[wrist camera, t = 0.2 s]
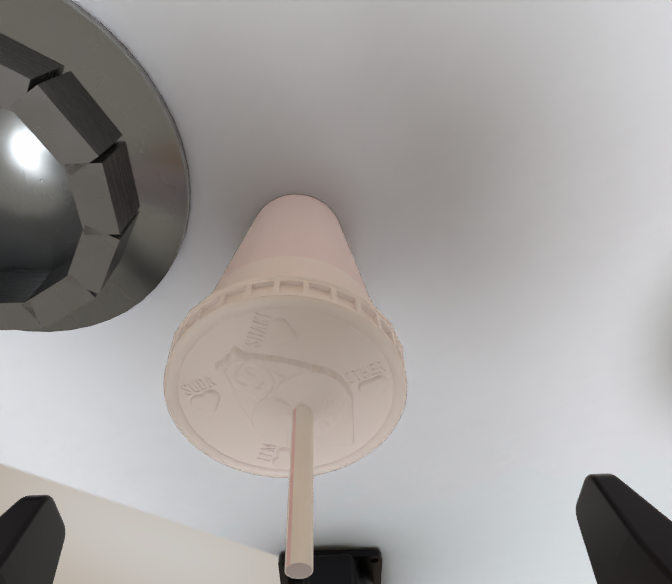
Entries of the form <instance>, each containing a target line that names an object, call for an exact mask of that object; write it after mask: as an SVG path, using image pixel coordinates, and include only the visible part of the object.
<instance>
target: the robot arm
mask: <svg viewBox="0 0 672 584" xmlns="http://www.w3.org/2000/svg"><path fill="white" fill-rule="evenodd" d="M576 516H577V520H578V524H579V527H580V530H581V533H582V537H583V540H584V543H585V546H586V549H587V553H588V556H589V559H590V562H591V565H592V569H593V572H594V575H595V578H596V581H597V584H672V521H671V520H669V519H668V518H667V517H666V516H664V515H663V514H662V513H661V512H659V511H658V510H657V509H656V508H655V507H653V506H652V505H651V504H650V503H648V502H647V501H646V500H645V499H644V498H642V497H641V496H640V495H639V494H637V493H636V492H635V491H634V490H632V489H631V488H630V487H629V486H628V485H626V484H625V483H624V482H623V481H621V480H620V479H619V478H618V477H616V476H614V475H612V474H590V475H588V476H587V477H586V478H585V480H584V483H583V486H582V489H581V492H580V495H579V498H578V501H577V504H576ZM64 539H65V526H64V523H63V520H62V518H61V516H60V513H59V511H58V509H57V507H56V504H55V502H54V500H53V498H52V497H50V496H49V495H31V496H25V497H23V498H21V499H20V500H19V501H17V502H16V503H15V504H14V505H12V506H11V507H10V508H9V509H8V510H7V511H6V512H5V513H4V514H2V515H1V516H0V584H53V580H54V577H55V572H56V569H57V565H58V562H59V557H60V554H61V550H62V547H63V543H64ZM278 565H279V573H280V582H281V584H381V571H382V555H381V552H380V551H378V550H354V551H329V552H313V573H312V574H311V575H310V576H309V577H306V578H303V579H294V578H291V577H289V576H287V575H286V574H285V554H282V555H280V556H279V563H278Z"/></svg>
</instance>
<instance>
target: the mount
mask: <svg viewBox="0 0 672 584" xmlns="http://www.w3.org/2000/svg"><path fill="white" fill-rule="evenodd" d="M189 205H190V184H189V174H188V166H187V162H186V158H185V153H184V149H183V145H182V142H181V139H180V136H179V134H178V131H177V128H176V125H175V123H174V120H173V118H172V116H171V114H170V112H169V110H168V108H167V106H166V104H165V102H164V100H163V98H162V96H161V95H160V93H159V92H158V90H157V89H156V87H155V85H154V84H153V82H152V81H151V79H150V78H149V76H148V75H147V73H146V72H145V70H144V69H143V68H142V67H141V66H140V64H139V63H138V62H137V61H136V59H135V58H134V57H133V56H132V55H131V53H130V52H129V51H128V50H127V49H126V47H125V46H124V45H123V44H122V43H121V42H120V41H119V40H118V39H116V38H115V37H114V36H113V35H112V34H111V33H110V32H109V31H108V30H107V29H106V28H105V27H104V26H103V25H102V24H101V23H100V22H98V21H97V20H96V19H95V18H93V17H92V16H91V15H89V14H88V13H87V12H86V11H84V10H83V9H82V8H81V7H79V6H78V5H77V4H75V3H74V2H72V1H70V0H0V330H22V331H39V332H53V331H65V330H73V329H78V328H83V327H88V326H92V325H95V324H98V323H101V322H104V321H107V320H110V319H112V318H114V317H116V316H118V315H120V314H122V313H124V312H126V311H127V310H129V309H130V308H132V307H133V306H135V305H136V304H138V303H139V302H141V301H142V300H143V299H144V298H145V297H146V296H147V295H148V294H149V293H151V292H152V291H153V290H154V289H155V288H156V286H157V285H158V284H159V283H160V281H161V280H162V279H163V278H164V276H165V275H166V274H167V272H168V270H169V268H170V266H171V265H172V263H173V261H174V259H175V257H176V255H177V253H178V251H179V248H180V246H181V243H182V240H183V237H184V235H185V231H186V226H187V221H188V216H189Z"/></svg>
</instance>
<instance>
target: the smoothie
mask: <svg viewBox="0 0 672 584" xmlns="http://www.w3.org/2000/svg"><path fill="white" fill-rule="evenodd" d="M164 396H165V401H166V404H167V407H168V410H169V413H170V415H171V417H172V419H173V421H174V422H175V424H176V426H177V427H178V429H179V430H180V431H181V432H182V434H183V435H184V436H185V437H186V438H187V439H188V440H189V441H190V442H191V443H192V444H193V445H194V446H195V447H196V448H198V449H199V450H200V451H202V452H203V453H205V454H206V455H208V456H209V457H211V458H212V459H214V460H216V461H218V462H220V463H222V464H225V465H227V466H229V467H231V468H233V469H237V470H240V471H244V472H247V473H250V474H255V475H261V476H268V477H279V478H289V489H288V509H287V530H286V551H285V574H286V575H287V576H289V577H291V578H294V579H303V578H306V577H309V576H310V575H311V574H312V573H313V476H315V475H319V474H323V473H327V472H331V471H335V470H338V469H340V468H342V467H345V466H347V465H350V464H352V463H354V462H356V461H358V460H359V459H361V458H363V457H365V456H366V455H368V454H369V453H371V452H372V451H373V450H374V449H376V448H377V447H378V446H379V445H380V444H381V443H382V442H383V441H384V440H385V439H386V438H387V437H388V436H389V435H390V434H391V432H392V431H393V429H394V428H395V426H396V425H397V423H398V421H399V419H400V417H401V415H402V412H403V410H404V406H405V403H406V397H407V379H406V372H405V366H404V357H403V349H402V345H401V343H400V341H399V339H398V337H397V335H396V333H395V331H394V329H393V327H392V325H391V323H390V322H389V321H388V320H387V319H386V318H385V317H384V316H383V314H382V313H381V312H380V311H379V310H378V309H377V308H376V307H375V306H374V305H373V303H372V301H371V299H370V297H369V295H368V292H367V290H366V287H365V285H364V282H363V280H362V278H361V275H360V273H359V270H358V268H357V265H356V263H355V261H354V258H353V256H352V253H351V251H350V248H349V246H348V244H347V241H346V239H345V236H344V234H343V231H342V229H341V227H340V224H339V222H338V219H337V218H336V216H335V214H334V213H333V212H332V210H331V209H330V208H329V207H328V206H327V205H325V204H324V203H322V202H321V201H319V200H317V199H315V198H313V197H309V196H305V195H286V196H282V197H279V198H277V199H274V200H273V201H271V202H269V203H268V204H267V205H265V206H264V207H263V208H262V209H261V211H260V212H259V213H258V215H257V217H256V218H255V220H254V222H253V223H252V225H251V227H250V229H249V230H248V232H247V234H246V236H245V237H244V239H243V241H242V243H241V244H240V246H239V248H238V249H237V251H236V253H235V255H234V256H233V258H232V260H231V262H230V263H229V265H228V267H227V268H226V270H225V272H224V274H223V275H222V277H221V279H220V281H219V282H218V284H217V286H216V288H215V289H214V291H213V292H212V294H211V295H209V296H208V297H207V298H206V299H204V300H203V301H202V302H200V303H199V304H198V305H197V306H195V307H194V308H193V309H192V310H190V312H189V313H188V315H187V316H186V318H185V319H184V320H183V322H182V323H181V325H180V326H179V328H178V329H177V331H176V332H175V334H174V338H173V341H172V345H171V349H170V352H169V356H168V362H167V365H166V369H165V374H164Z"/></svg>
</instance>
